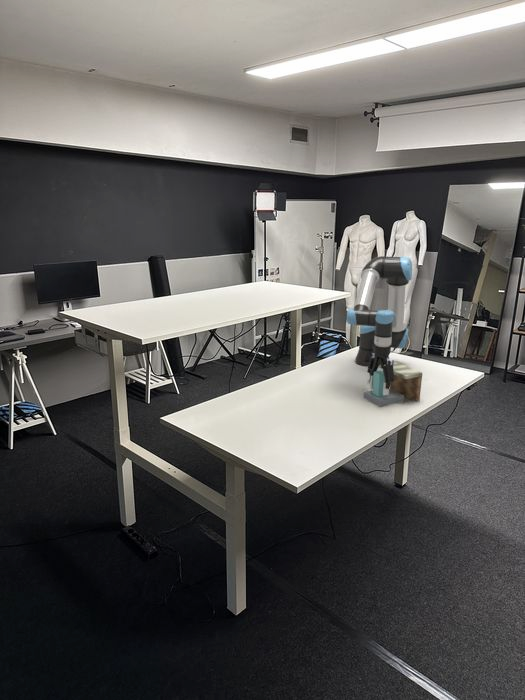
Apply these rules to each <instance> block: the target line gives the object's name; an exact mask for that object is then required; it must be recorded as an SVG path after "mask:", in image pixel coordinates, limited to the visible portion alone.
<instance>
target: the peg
mask: <svg viewBox="0 0 525 700" xmlns="http://www.w3.org/2000/svg"><path fill="white" fill-rule="evenodd" d="M384 381H385V378H384V373H383V371H376V372H374V377H373V389H372V390H373V394H372V395H374V396H376V397H378V398H380V397H384V396H385V395H383V387H384Z"/></svg>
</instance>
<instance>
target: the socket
mask: <svg viewBox="0 0 525 700" xmlns="http://www.w3.org/2000/svg"><path fill="white" fill-rule="evenodd" d="M372 394H373V389H370V390H367V391H364V392H363V399H365V400H367V401H368V402H371V403H372V404H374V405H375V406H378V407H379V408H380V407H385V406H389V405H393V404H399V403H404V402H405V401H404V400H405V396H404V395H402V394H400V393H398V392H396V391H394V390H392V389H389V395H385V396H384V397H380V398H378V397H376V396H374V395H372Z"/></svg>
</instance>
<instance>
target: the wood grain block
mask: <svg viewBox="0 0 525 700" xmlns="http://www.w3.org/2000/svg"><path fill="white" fill-rule="evenodd" d="M384 366H385V365H384ZM379 368H381V369H382V367H381V365H379ZM393 371H394V381H393V382H391V383H390V389H392V390H394V391H396V392H398V393H400V394H402V395H404V398H408V399H410V400H412V401H414V402H420V399H421V389H422V380H423V372H422V371H419V370H417V369H414V368H412V367H409V366H407V365H404V364H401V363H399V362H396V361H394V364H393Z"/></svg>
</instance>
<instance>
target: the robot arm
mask: <svg viewBox="0 0 525 700" xmlns="http://www.w3.org/2000/svg"><path fill="white" fill-rule="evenodd" d="M360 273H361V274H360V279H361V280H360V284H359V287H358V291H357V295H356V298H355V301H354V302H355V303H354V306H353V308H348V309H347V312H346V323H347V324H349V325H352V326H360V327H359V329H360V330H359V341H358V342H359V343H358V351H357V353H356V356H355V358H354V359H355V360H354V362H355V364H357V365H359V366H364V367H367V371H366V372H367V373H370V375H369V382H370V384H369V389H370V390H373V377H374V372H376V371H377V369H378V367H379V365H381V367H382V369H383V373H384V378H385V381H384V387H383V395H389V389H390V382H393V381H394V371H393V364H394V362H395V360H394V359H390V354H391V349H404V348H405V347H406V343H407V339H408V334H409V328H407V325H406V324H405V323H404V321H405V320H404V319H405V318H404V317H405V303H406V302H405V300H406V287H407V285H409V283H410V281H412V279H413V263H412V259H411V258H410V257H405V256H376V257H374V258H373V259H371V260H369V261H368V262H367V263H366V264H365V265H364V267H362V270H361V272H360ZM380 279H381V280H385V281H386V284H387V285H388V296H387V297H388V298H387V300H388V301H387V309H381V310H375V309H374V310H373V309H371V306H372V301H373V297H374V292H375V288H376V286H377V283H378V282H379V280H380ZM384 365H385V366H384ZM370 369H371V370H370Z"/></svg>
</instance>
